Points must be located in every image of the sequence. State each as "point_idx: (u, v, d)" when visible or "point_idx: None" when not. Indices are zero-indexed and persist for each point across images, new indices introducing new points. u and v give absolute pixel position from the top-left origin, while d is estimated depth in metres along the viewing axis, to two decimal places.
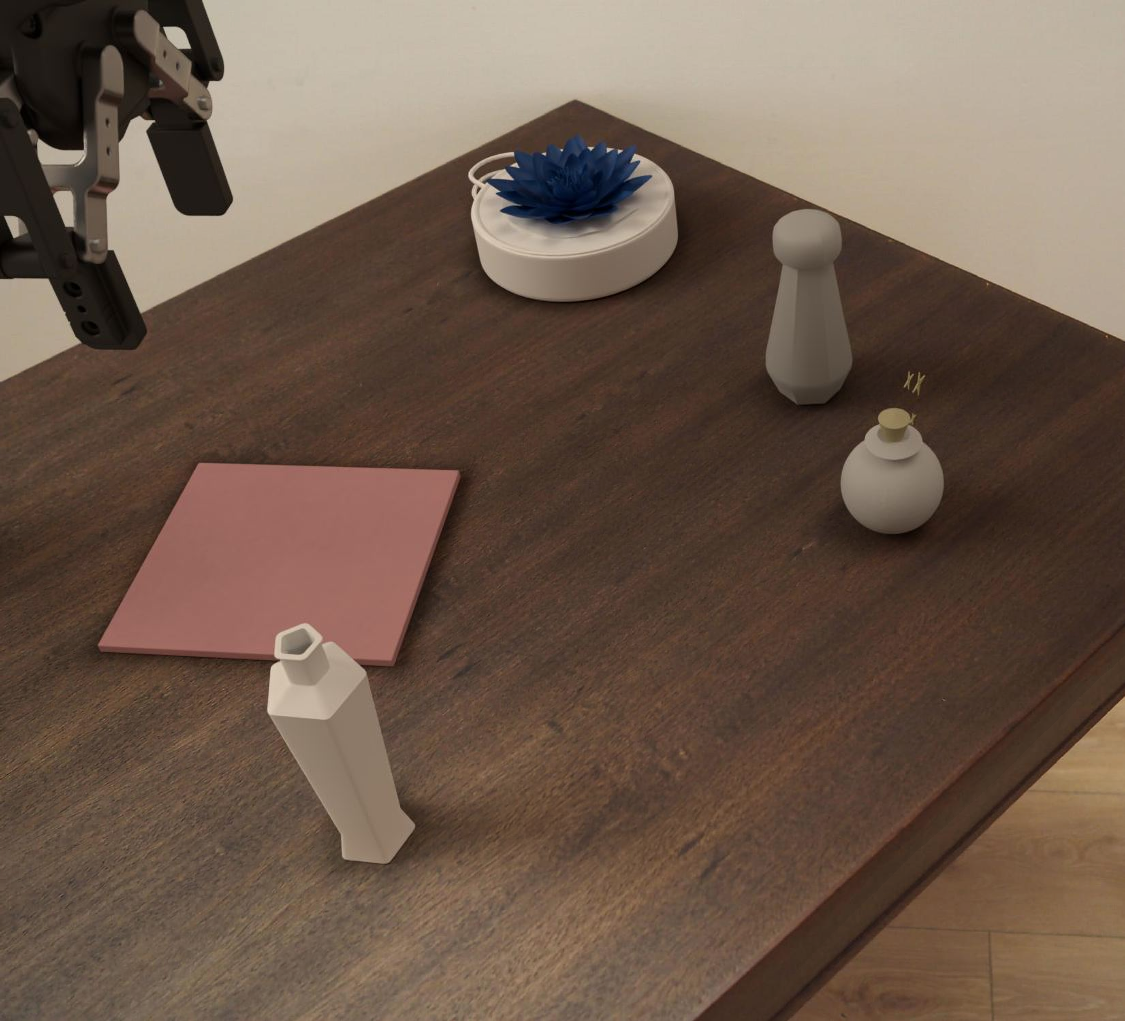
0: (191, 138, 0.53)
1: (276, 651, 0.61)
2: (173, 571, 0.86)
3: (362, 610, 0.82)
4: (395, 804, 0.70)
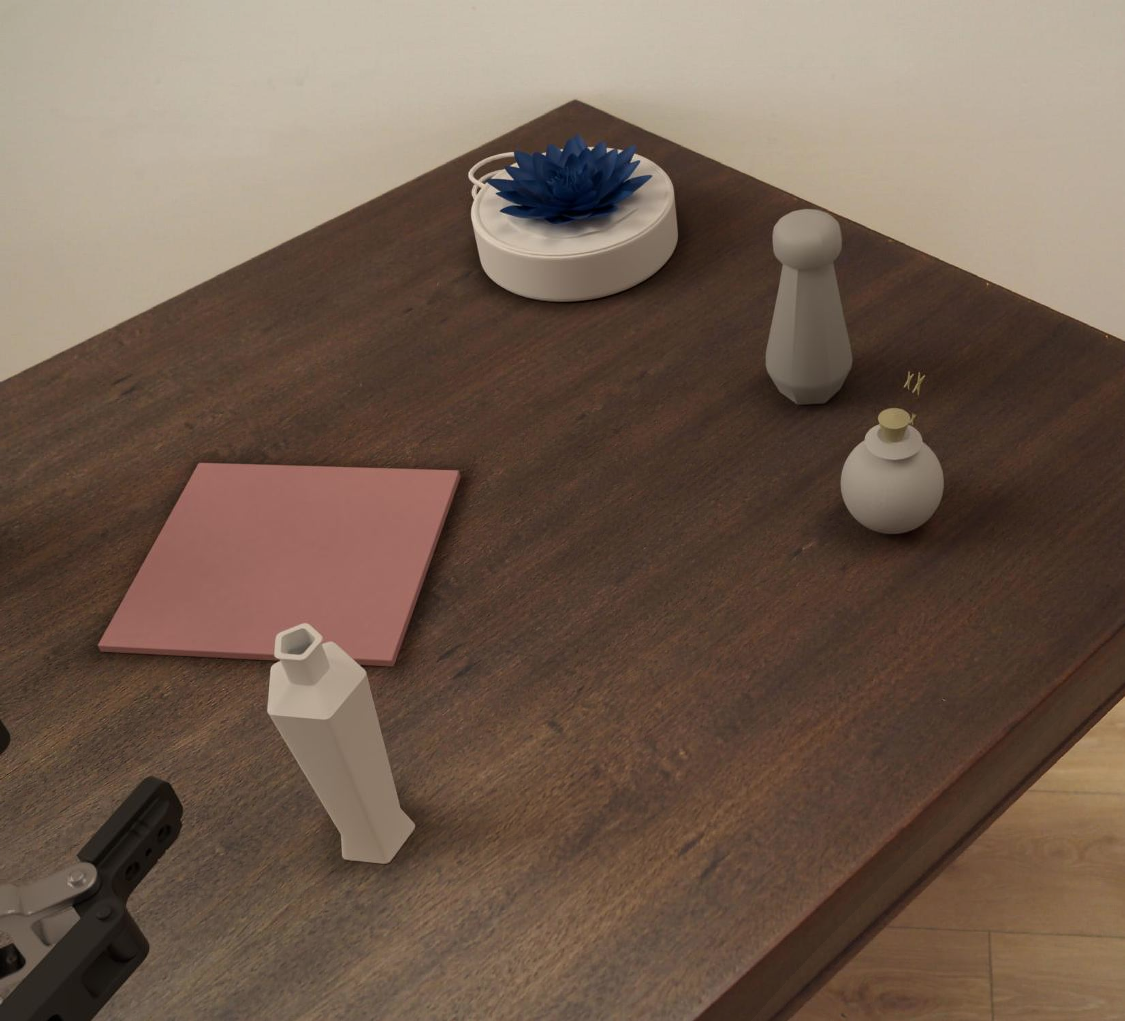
0: None
1: (276, 651, 0.61)
2: (173, 571, 0.86)
3: (362, 610, 0.82)
4: (395, 804, 0.70)
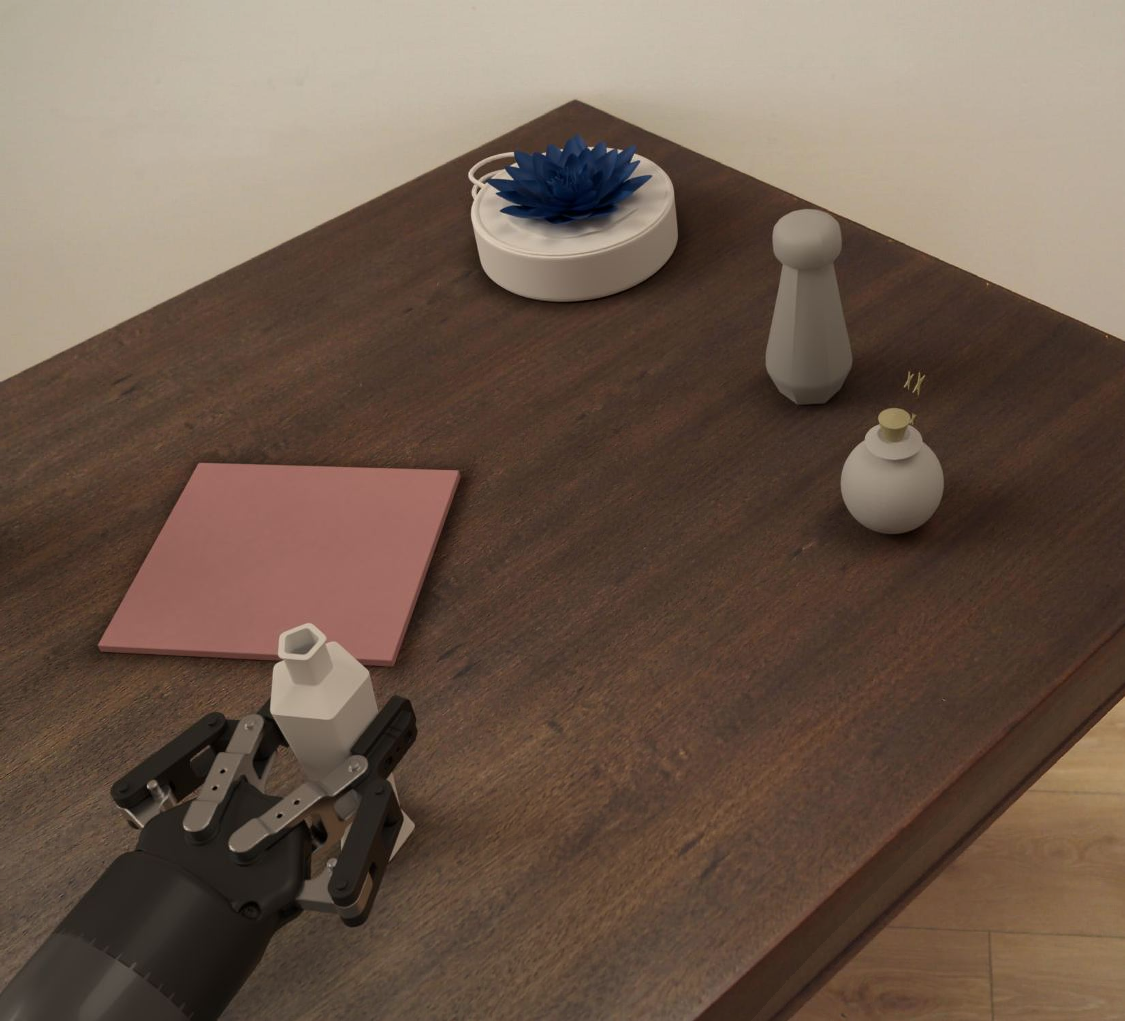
0: None
1: (280, 651, 0.61)
2: (173, 571, 0.86)
3: (362, 610, 0.82)
4: None
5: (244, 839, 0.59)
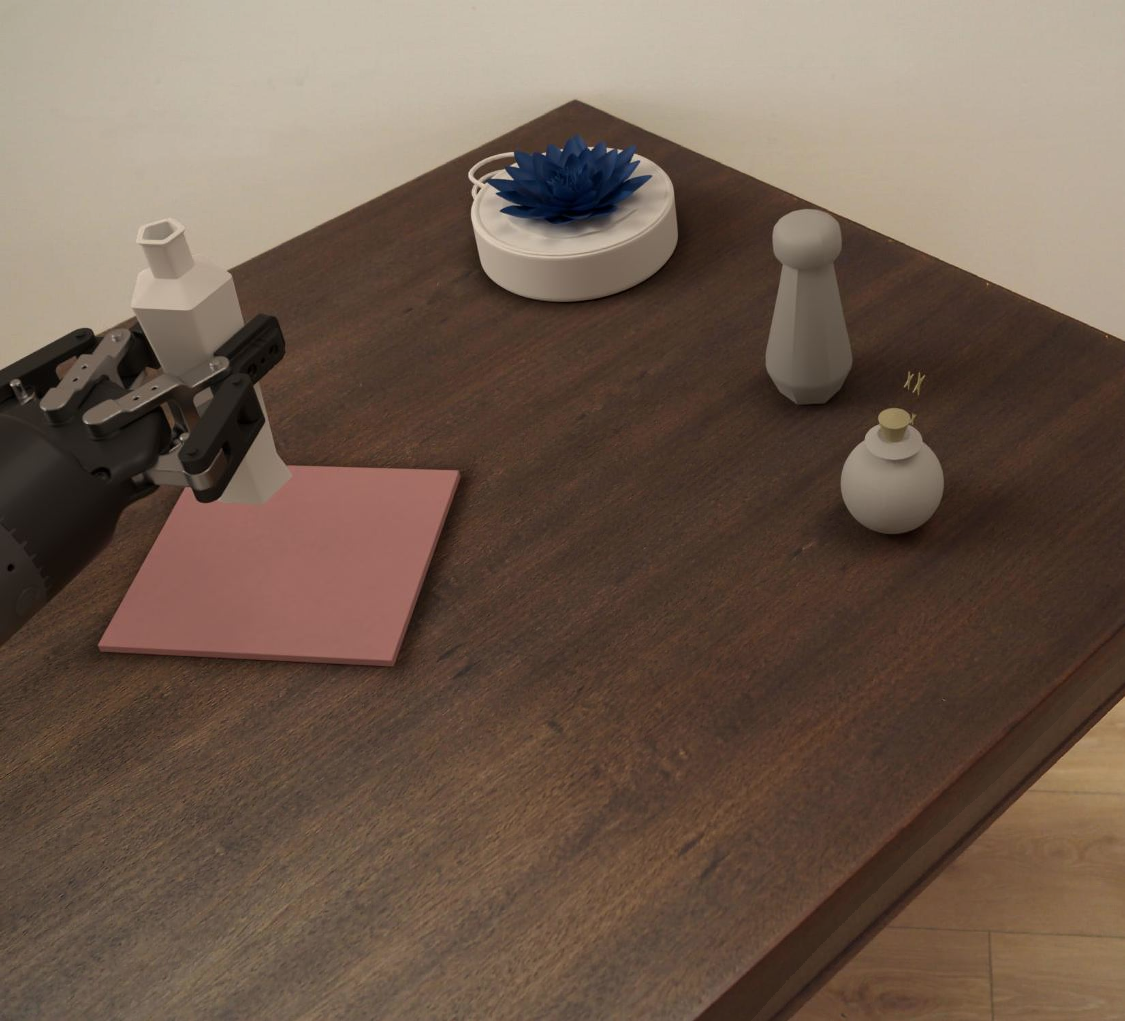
0: None
1: (138, 238, 0.61)
2: (173, 571, 0.86)
3: (362, 610, 0.82)
4: (270, 443, 0.70)
5: (98, 414, 0.60)
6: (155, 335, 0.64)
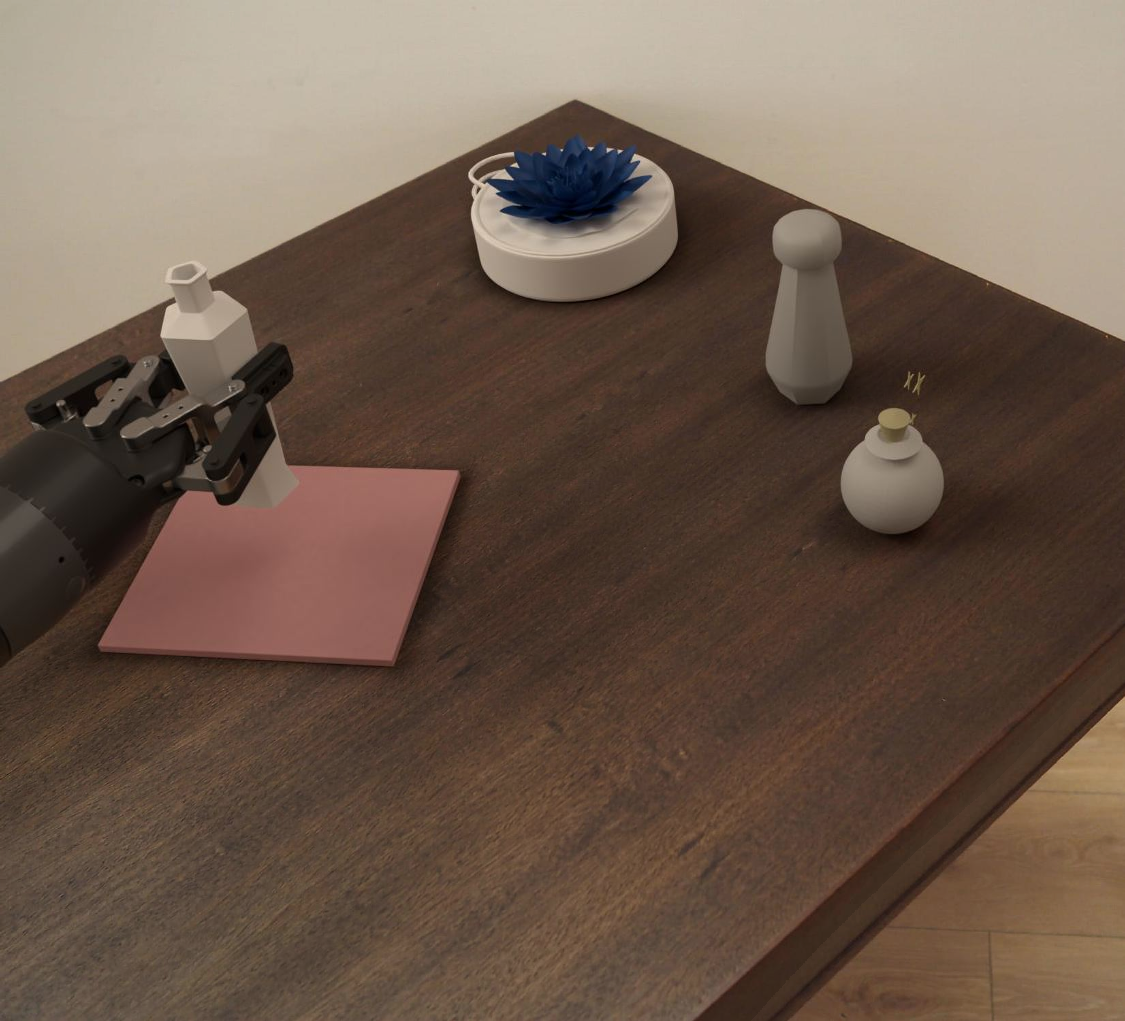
0: None
1: (167, 278, 0.72)
2: (173, 571, 0.86)
3: (362, 610, 0.82)
4: (279, 455, 0.80)
5: (133, 430, 0.70)
6: (181, 361, 0.74)
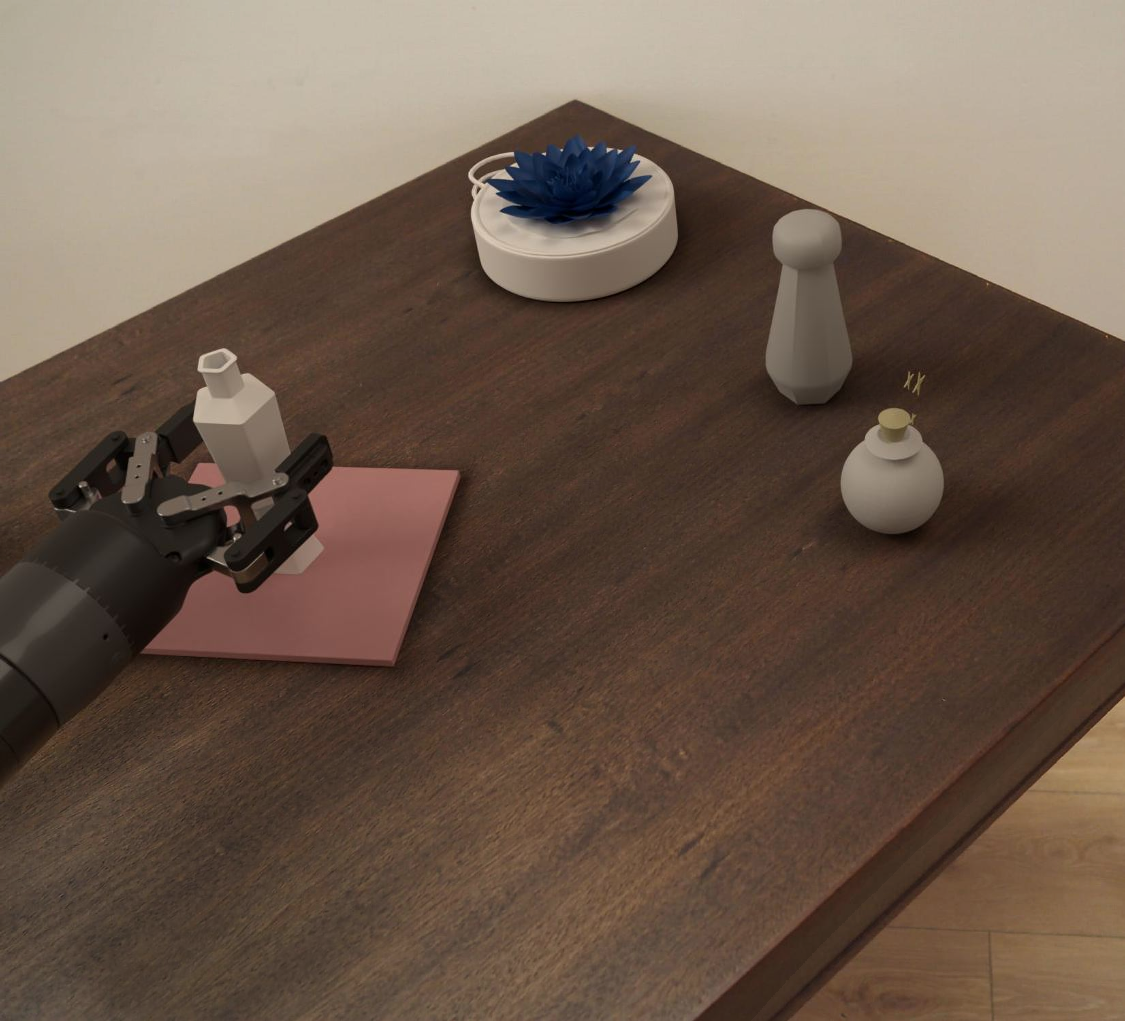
0: None
1: (199, 367, 0.75)
2: None
3: (362, 610, 0.82)
4: None
5: (170, 507, 0.74)
6: (213, 443, 0.78)
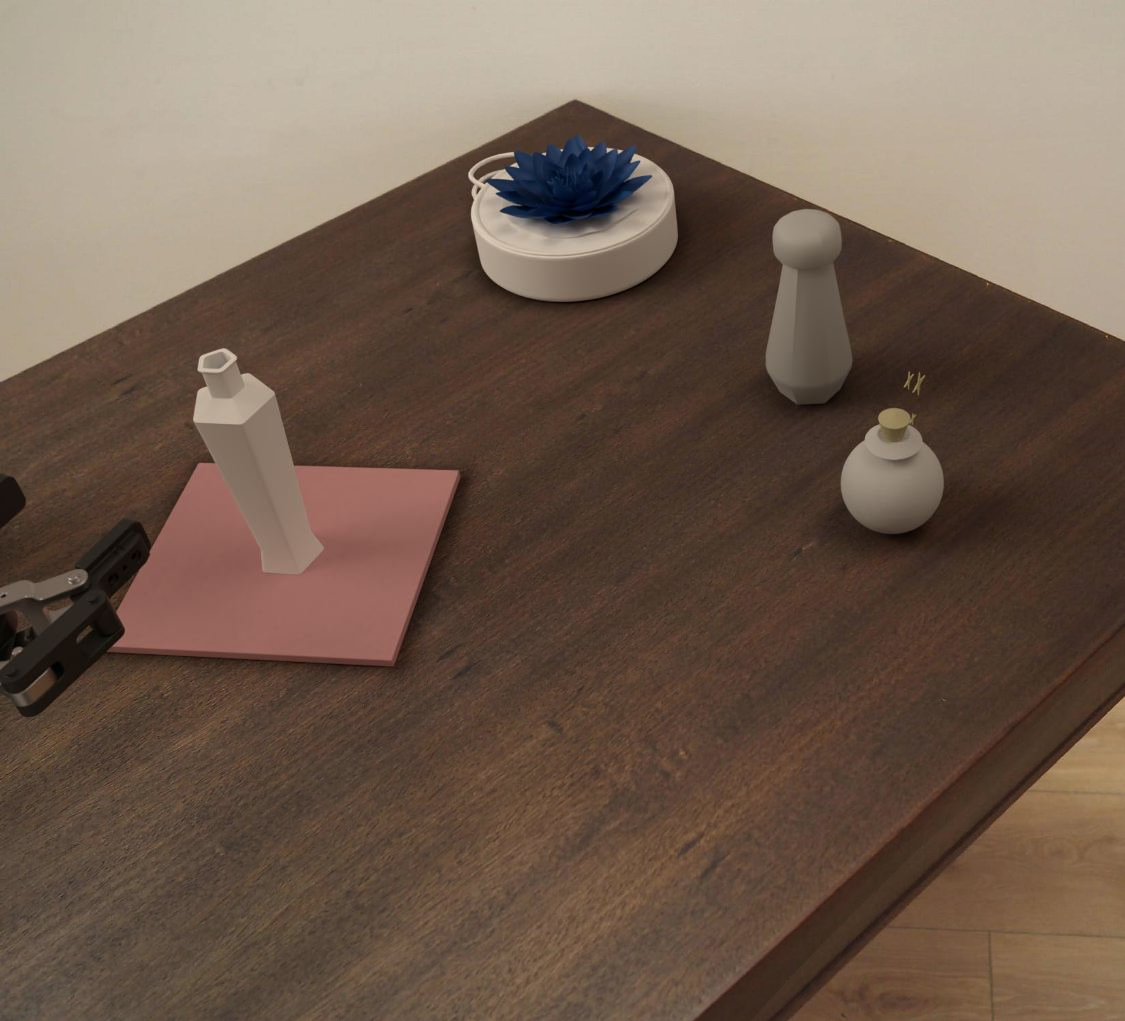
0: None
1: (199, 367, 0.75)
2: (173, 571, 0.86)
3: (362, 610, 0.82)
4: (305, 524, 0.84)
5: None
6: (213, 443, 0.78)
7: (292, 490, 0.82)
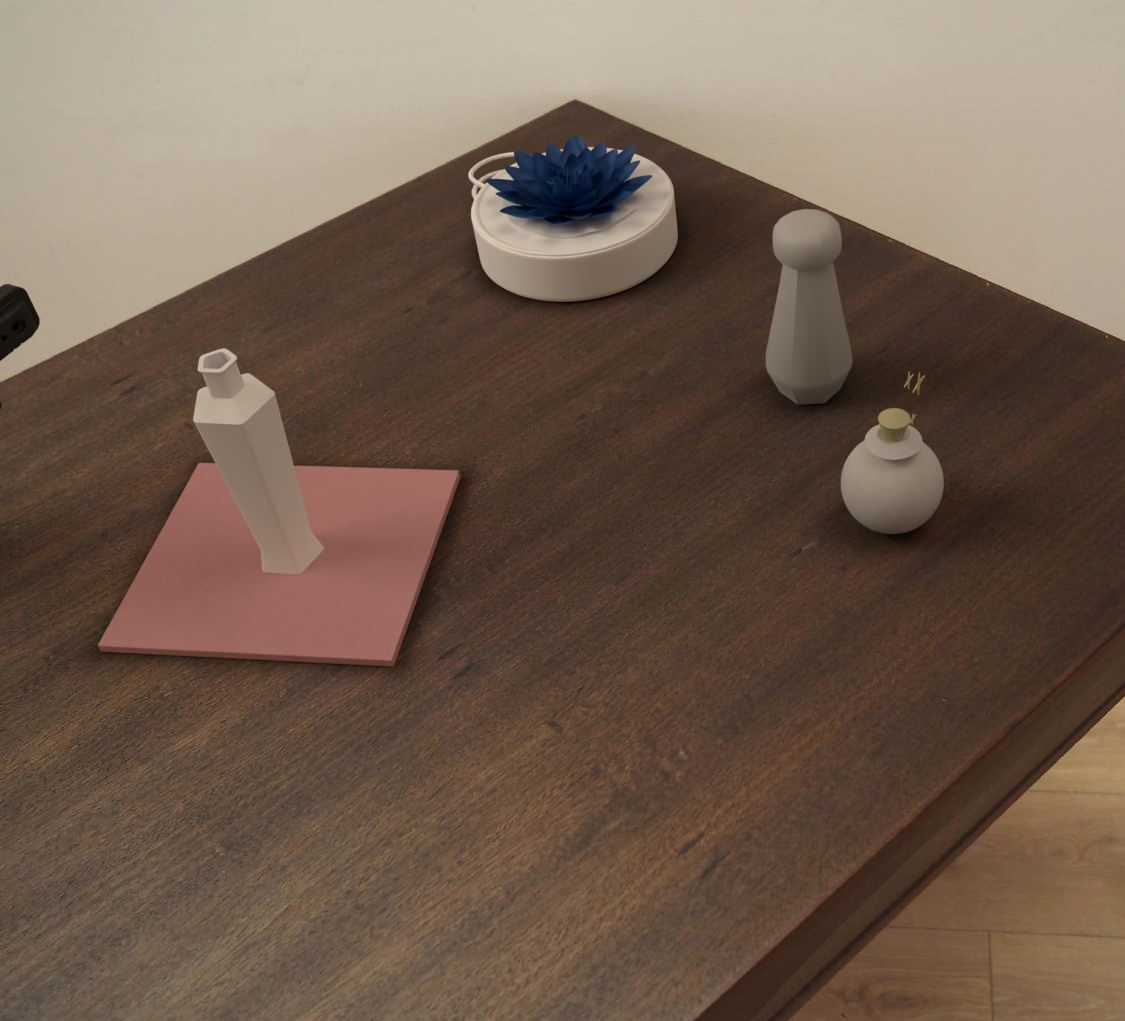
0: None
1: (199, 367, 0.75)
2: (173, 571, 0.86)
3: (362, 610, 0.82)
4: (305, 524, 0.84)
5: None
6: (213, 443, 0.78)
7: (292, 490, 0.82)
